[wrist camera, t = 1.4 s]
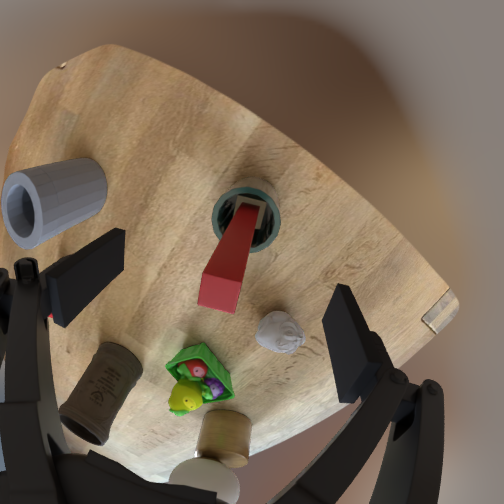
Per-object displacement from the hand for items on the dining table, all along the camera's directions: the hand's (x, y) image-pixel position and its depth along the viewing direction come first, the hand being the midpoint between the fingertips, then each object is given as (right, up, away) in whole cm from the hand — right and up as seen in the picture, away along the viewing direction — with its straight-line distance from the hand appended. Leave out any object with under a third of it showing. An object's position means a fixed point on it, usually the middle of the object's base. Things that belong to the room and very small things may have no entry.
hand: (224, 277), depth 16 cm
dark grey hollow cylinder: (-27, -23, +34) cm, 49 cm away
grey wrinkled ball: (+6, -8, +25) cm, 27 cm away
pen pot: (+2, +8, +19) cm, 20 cm away
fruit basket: (-7, -19, +30) cm, 36 cm away
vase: (-24, +11, +19) cm, 33 cm away
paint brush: (+2, +8, +18) cm, 20 cm away
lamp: (-6, -38, +38) cm, 54 cm away
